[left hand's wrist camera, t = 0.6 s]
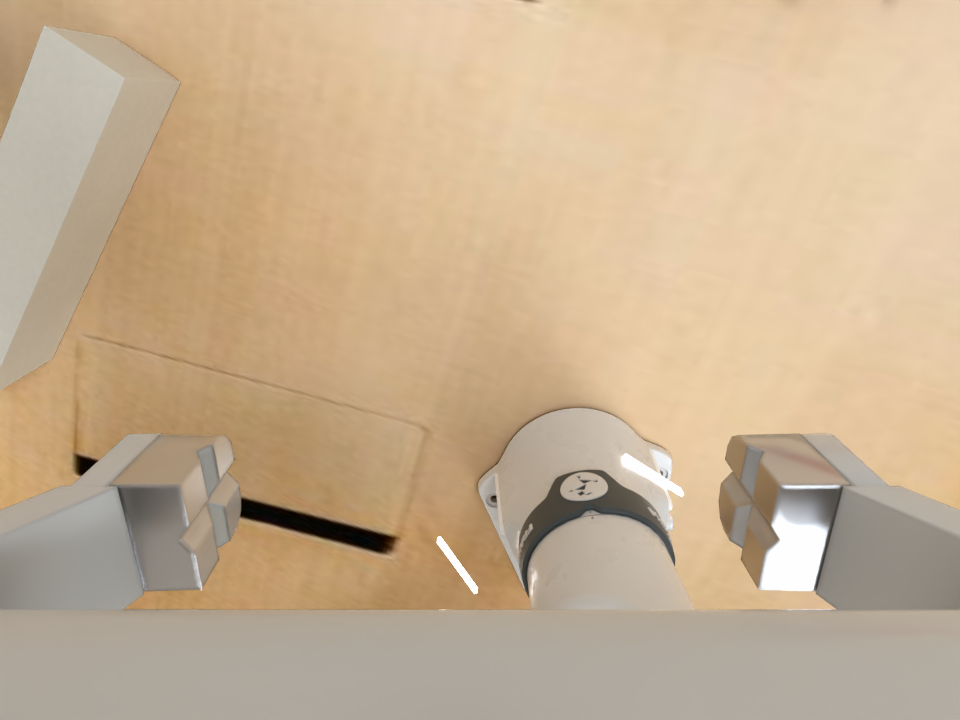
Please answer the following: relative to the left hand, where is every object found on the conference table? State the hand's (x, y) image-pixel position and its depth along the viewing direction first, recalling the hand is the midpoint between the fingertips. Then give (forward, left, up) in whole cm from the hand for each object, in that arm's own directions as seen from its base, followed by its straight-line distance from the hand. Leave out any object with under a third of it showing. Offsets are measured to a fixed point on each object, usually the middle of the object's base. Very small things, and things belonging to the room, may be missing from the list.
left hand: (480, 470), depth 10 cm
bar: (+3, +33, -43) cm, 55 cm away
